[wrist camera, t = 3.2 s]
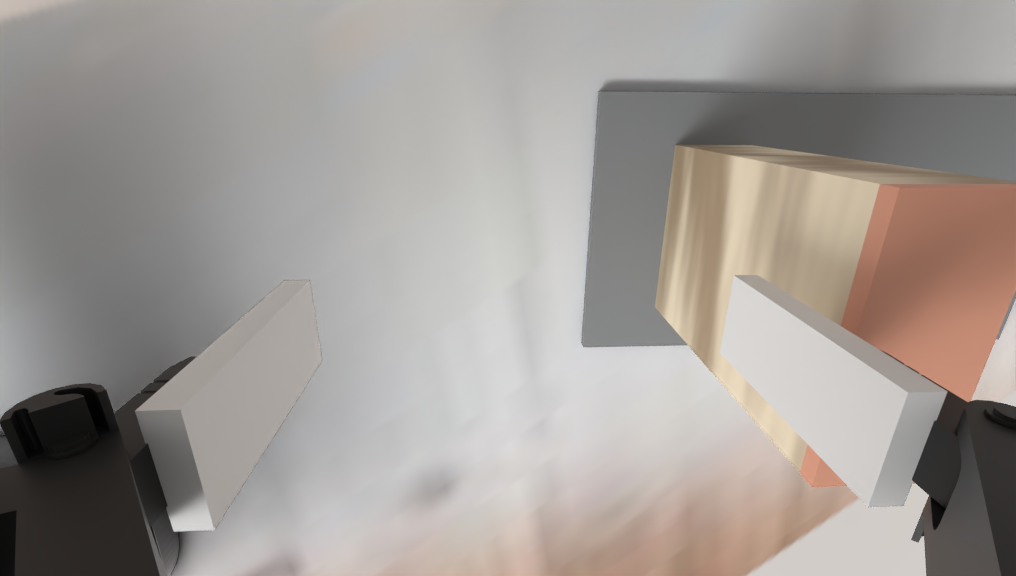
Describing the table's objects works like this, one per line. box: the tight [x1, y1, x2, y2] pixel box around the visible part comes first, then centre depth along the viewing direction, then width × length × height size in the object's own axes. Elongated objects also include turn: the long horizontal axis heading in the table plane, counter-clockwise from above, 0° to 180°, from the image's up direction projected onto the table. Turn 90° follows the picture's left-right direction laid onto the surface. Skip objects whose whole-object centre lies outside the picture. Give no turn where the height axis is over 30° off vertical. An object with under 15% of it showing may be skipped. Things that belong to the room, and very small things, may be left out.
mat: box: [581, 91, 1016, 347], centre depth 27 cm, size 26×14×1 cm, turn 90°
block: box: [655, 145, 1016, 487], centre depth 20 cm, size 4×9×14 cm, turn 0°
